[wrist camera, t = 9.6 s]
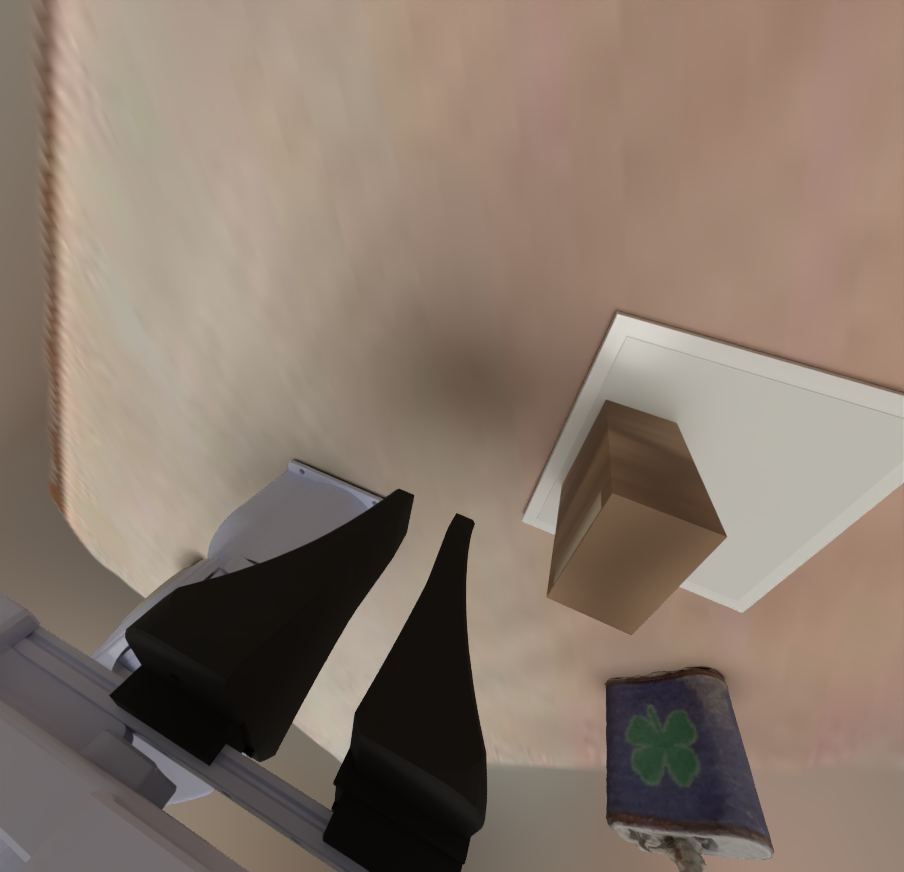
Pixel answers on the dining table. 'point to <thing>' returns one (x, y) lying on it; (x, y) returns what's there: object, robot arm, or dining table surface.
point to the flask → (681, 769)
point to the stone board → (744, 446)
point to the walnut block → (630, 520)
